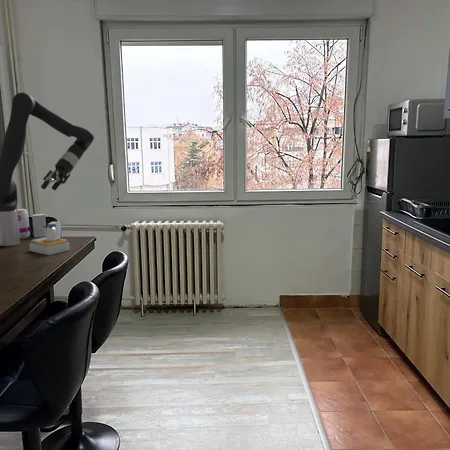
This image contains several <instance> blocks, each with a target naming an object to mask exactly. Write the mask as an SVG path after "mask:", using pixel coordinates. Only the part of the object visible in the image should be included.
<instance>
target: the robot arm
mask: <svg viewBox="0 0 450 450" xmlns="http://www.w3.org/2000/svg"><path fill="white" fill-rule="evenodd" d="M10 108H11V110H10V117H9V121H8V123H7V127H6V131H5V133H4V137H3V139H2V140H3V141H2V145H1V148H0V149H1V150H0V246H1V247H11V246H12V247H13V246H17V245H20V244H21V243H22V242H21V238H20V233H19V223H18V214H17V209H18V202H19V200H18V187H17V184H16V182H15V181H14V179H13V174H14V172H15V169H16V168H17V166H18V164H19V163H20V160H21V158H22V155H23V153H24V151H25V150H24V149H25V145H26V137H27V135H26V134H27V123H28V120H29V118H30V115H31V116H33V117H35V118H37V119H38V120H41V121H43V123H45V124H47V125H48V126H50V127H51V128H53V130H56V132H59V133H60V134H62V135H64V136H66V137H68V138H71V137H74V138H76V139H75V141H74V142H73V143H72V144H71V145H70V146H69V147H68V149H67V150H66V151H65V152H64V153H63V154H62V155H61V157H60V158H59V160H57V162H56V163H55V166H54V167H55V169H54V170H49V171H48V172H47V173H46V174H45V176H43V182H42V184H41V186H40V188H41V189H42V190H46V188H47V187H48V186H49V185H50V183H53V184H52V186H51V189H52V190H53V191H57V189H58V188H59V187H60V185H61V186H62V184H63V185H64V184H66V182H67V180H68V179H69V178H70V176H71V172H72V171H73V170H74V169H75V167H76V165H78V162H79V161H80V160H81V157H82V156H83V155H84V154H85V152H86V151H87V150H88V148H89V147H90V146H91V145H92V143H93V142H94V139H95V136H94V134H93V132H92V131H91V130H89V129H88V128H85V127H84V126H80V125H77V124H74V123H73V122H71V121H70V120H68V119H66V118H65V117H62V116H61V115H59V114H57V113H55V112H54V111H52V110H50V109H48V108H47V107H46V106H43V105H42V104H41V103H40V102H39V101H37V100H36V99H35V98H34V97H33V96H32V95H31V94H29V93H27V92H18V93H16V94H15V95H14V96H13V98H12V101H11V107H10Z"/></svg>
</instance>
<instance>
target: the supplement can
mask: <svg viewBox="0 0 450 450" xmlns="http://www.w3.org/2000/svg"><path fill="white" fill-rule="evenodd" d="M17 214H18V223H19V233H20V239H25V238H29V237H30V236H31V232H30V222H29V212H28V210H27V209H26V208H17Z"/></svg>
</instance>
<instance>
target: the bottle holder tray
mask: <svg viewBox="0 0 450 450" xmlns="http://www.w3.org/2000/svg"><path fill="white" fill-rule="evenodd" d="M28 245H29V251H30V252H34V253H38V254H42V255H47V256H51V255H55V254H60V253H64V252H67V251H71V245H70V242H68V240H67V239H65V238H64V239H63V238H61V237H60V238H57V242H53V243H47V238H46V237H38V238H34V239H31V240H30V243H29V244H28Z"/></svg>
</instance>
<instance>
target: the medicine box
mask: <svg viewBox="0 0 450 450" xmlns="http://www.w3.org/2000/svg"><path fill="white" fill-rule="evenodd" d="M49 225H52V227H56V235H57V238H60V239H61V238H62V223H61V221H51V222H49V223H47V228H48V227H49Z"/></svg>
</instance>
